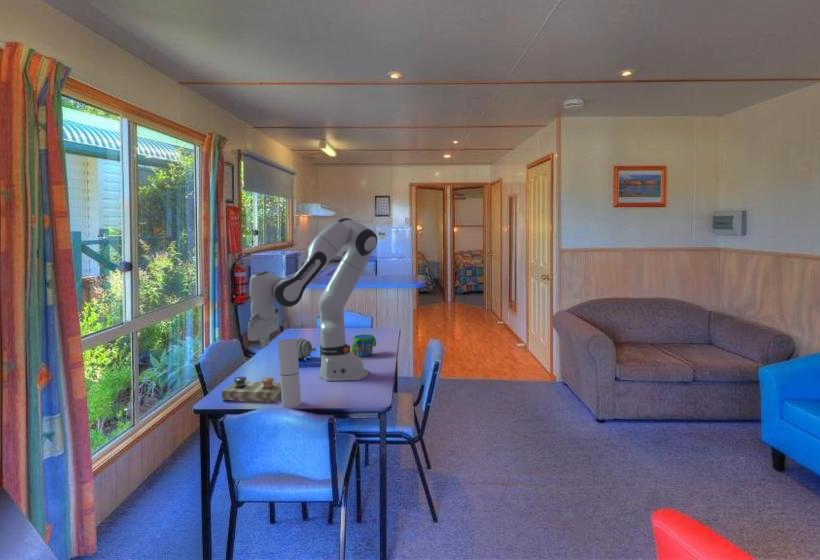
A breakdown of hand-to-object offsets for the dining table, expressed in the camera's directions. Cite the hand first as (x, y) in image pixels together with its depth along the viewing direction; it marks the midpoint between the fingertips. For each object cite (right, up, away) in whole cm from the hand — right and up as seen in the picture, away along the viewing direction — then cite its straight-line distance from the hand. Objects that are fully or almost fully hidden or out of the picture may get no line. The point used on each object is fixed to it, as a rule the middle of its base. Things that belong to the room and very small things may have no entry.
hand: (264, 346), depth 204 cm
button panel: (-5, -21, +4) cm, 22 cm away
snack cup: (+35, -13, +60) cm, 70 cm away
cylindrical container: (+12, -22, -7) cm, 26 cm away
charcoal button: (-11, -18, +4) cm, 22 cm away
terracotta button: (+1, -18, +2) cm, 18 cm away
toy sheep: (+3, -14, +56) cm, 58 cm away
